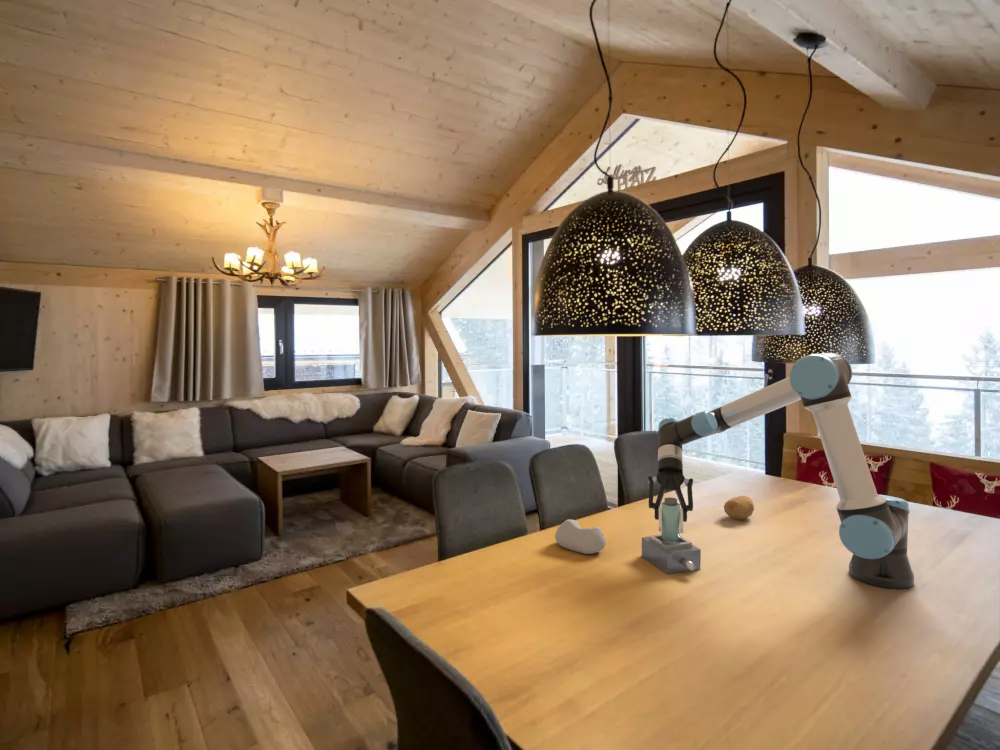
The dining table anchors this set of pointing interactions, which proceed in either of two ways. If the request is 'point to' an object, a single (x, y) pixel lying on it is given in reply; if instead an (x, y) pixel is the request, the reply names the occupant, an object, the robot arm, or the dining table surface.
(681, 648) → the dining table surface
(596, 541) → the decorative stone
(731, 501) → the potato
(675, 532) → the teal bottle
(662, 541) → the square hollow holder
